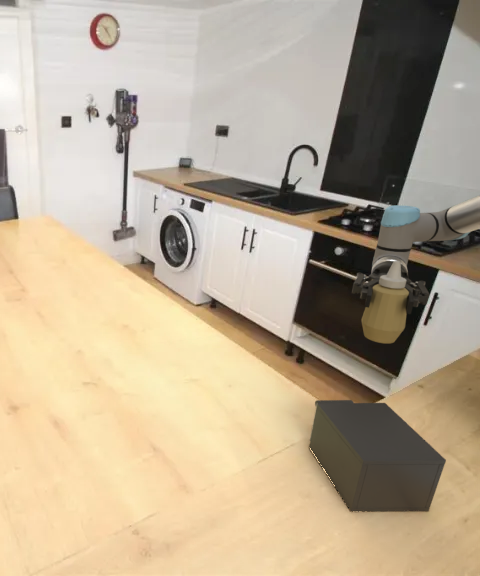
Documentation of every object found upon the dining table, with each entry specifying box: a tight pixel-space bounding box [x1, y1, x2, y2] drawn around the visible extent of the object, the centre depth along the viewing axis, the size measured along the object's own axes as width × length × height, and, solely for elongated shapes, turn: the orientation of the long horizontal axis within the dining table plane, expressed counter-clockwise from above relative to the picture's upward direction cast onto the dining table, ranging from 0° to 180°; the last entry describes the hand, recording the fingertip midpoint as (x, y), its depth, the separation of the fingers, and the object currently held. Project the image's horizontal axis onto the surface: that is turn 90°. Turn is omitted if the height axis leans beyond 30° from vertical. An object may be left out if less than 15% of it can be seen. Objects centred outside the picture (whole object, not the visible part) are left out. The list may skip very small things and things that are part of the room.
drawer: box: [309, 399, 355, 440], centre depth 76 cm, size 18×11×9 cm, turn 179°
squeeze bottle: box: [360, 261, 409, 344], centre depth 89 cm, size 8×8×18 cm
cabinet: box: [308, 402, 447, 513], centre depth 72 cm, size 15×13×11 cm
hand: (388, 304), depth 85 cm, fingers closed on squeeze bottle, 6 cm apart
